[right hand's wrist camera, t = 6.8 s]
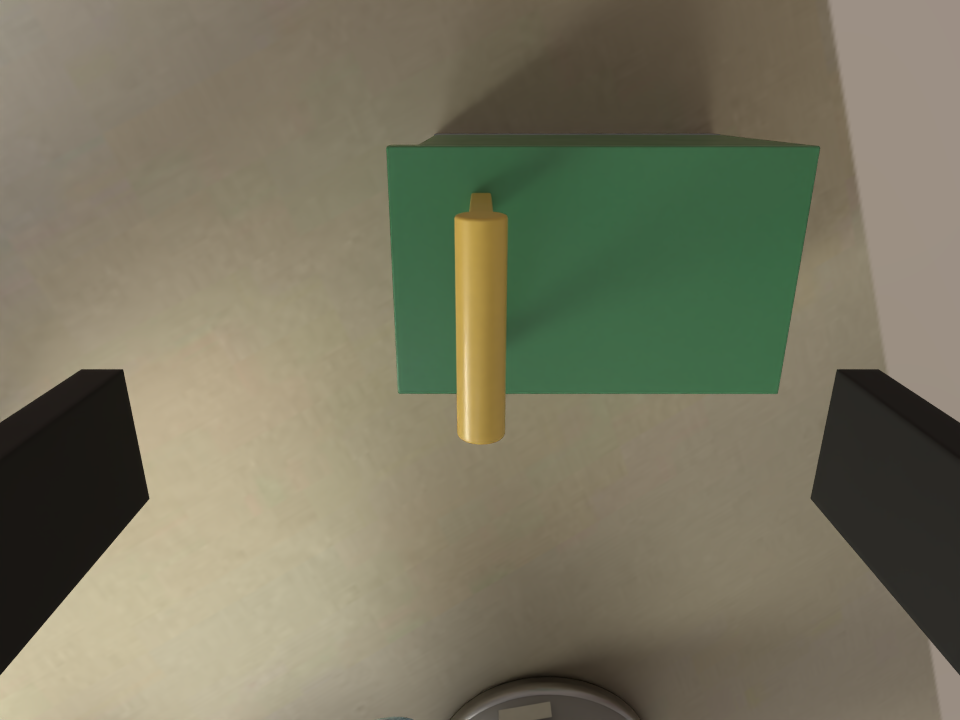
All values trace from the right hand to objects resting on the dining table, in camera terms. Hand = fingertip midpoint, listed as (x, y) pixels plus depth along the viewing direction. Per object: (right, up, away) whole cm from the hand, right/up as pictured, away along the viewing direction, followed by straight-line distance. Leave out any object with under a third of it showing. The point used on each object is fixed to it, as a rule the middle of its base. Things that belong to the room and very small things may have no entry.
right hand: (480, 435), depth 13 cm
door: (+4, +5, +12) cm, 14 cm away
